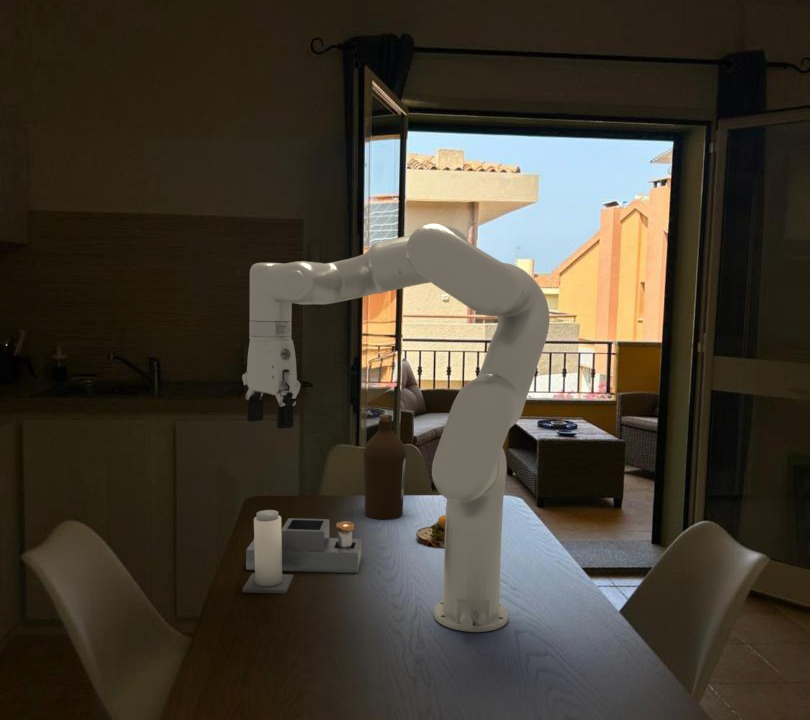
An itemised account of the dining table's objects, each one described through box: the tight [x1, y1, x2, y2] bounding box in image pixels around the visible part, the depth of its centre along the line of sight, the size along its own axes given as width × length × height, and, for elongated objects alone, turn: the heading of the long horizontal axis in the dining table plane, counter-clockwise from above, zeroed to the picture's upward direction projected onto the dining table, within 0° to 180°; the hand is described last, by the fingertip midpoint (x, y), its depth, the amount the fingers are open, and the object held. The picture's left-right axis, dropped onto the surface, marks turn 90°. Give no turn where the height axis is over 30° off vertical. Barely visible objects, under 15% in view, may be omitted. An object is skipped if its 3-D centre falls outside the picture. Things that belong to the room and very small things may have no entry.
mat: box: [241, 572, 295, 595], centre depth 143 cm, size 8×8×1 cm
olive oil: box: [363, 413, 407, 520], centre depth 191 cm, size 11×11×25 cm
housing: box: [245, 517, 363, 574], centre depth 155 cm, size 22×9×8 cm, turn 89°
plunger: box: [335, 520, 355, 549], centre depth 155 cm, size 4×4×8 cm
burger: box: [415, 514, 446, 549], centre depth 172 cm, size 12×12×8 cm
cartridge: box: [253, 509, 283, 586], centre depth 143 cm, size 5×5×13 cm
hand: (269, 424), depth 141 cm, fingers open, 9 cm apart
